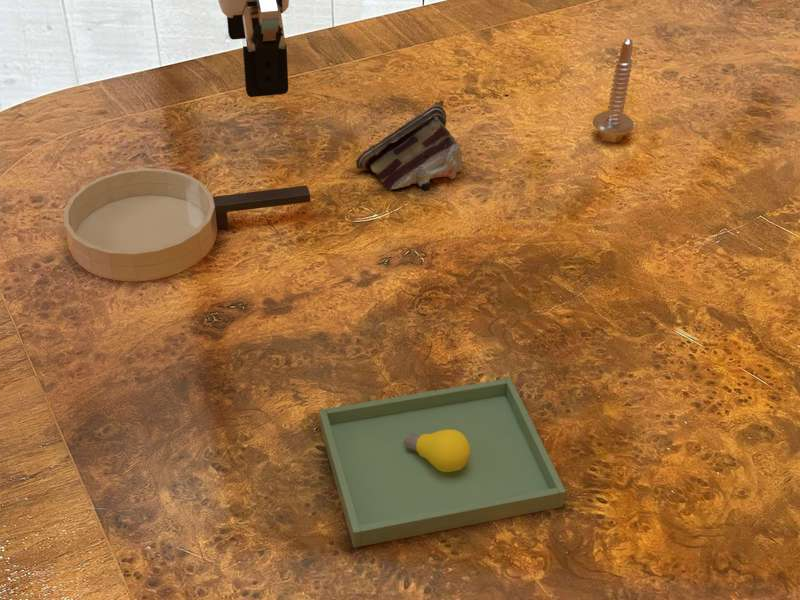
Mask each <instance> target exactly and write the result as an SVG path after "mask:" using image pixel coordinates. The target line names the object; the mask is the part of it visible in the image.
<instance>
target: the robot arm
mask: <svg viewBox="0 0 800 600" xmlns="http://www.w3.org/2000/svg"><path fill="white" fill-rule="evenodd" d="M217 1H218V4H219V7H220V9H221V13H223V14H224V15H225V16H226V21H227V33H228V37H229V39H231V40H233V41H234V40H235V41H236V40H244V39H245V44H246V45H244V46H243V45H242V55H243V68H244V69H243V70H244V82H245V83H244V84H245V85H244V86H245V92H246V95H247V96H248V97H249V98H257V97H268V96H277V95H285V94H287V93H288V92H289V69H288V68H289V67H288V45H287V43H286V37H285V30H284V24H283V17H282V14H284V13H285V12H286V11H287V9H288V8H289V5H290V0H217Z"/></svg>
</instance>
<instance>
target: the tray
mask: <svg viewBox="0 0 800 600" xmlns="http://www.w3.org/2000/svg"><path fill="white" fill-rule="evenodd" d="M318 426H319V429H320V434H321V436H322V440H323V444H324V447H325V451H326V455H327V458H328V461H329V465H330V468H331V469H330V470H331V473H332V476H333V480H334V483H335V487H336V490H337V494H338V497H339V501H340V504H341V508H342V512H343V516H344V520H345V522H346V526H347V531H348V534H349V537H350V540H351V544H352V547H353V548H354V549H356V548H361V547H366V546H370V545H376V544H380V543H385V542H391V541H396V540H401V539H406V538H412V537H417V536H421V535H425V534H433V533H438V532H442V531H446V530H447V531H448V530H451V529H457V528H462V527H468V526H472V525H477V524H483V523H486V522H492V521H497V520H503V519H508V518H512V517H518V516H523V515H528V514H529V515H530V514H533V513H539V512H543V511H548V510H554V509H559V508H563V507H564V505H565V498H566V493H567V491H566V488H565V487H564V484H563V482H562V480H561V478H560V476H559V474H558V471H557V470H556V467H555V466H554V464H553V461H552V460H551V457H550V456H549V453H548V451H547V449H546V448H545V446H544V443H543V441H542V439H541V437H540V435H539V433H538V431H537V429H536V426H535V424H534V423H533V421H532V418H531V416H530V414H529V412H528V410H527V408H526V406H525V404H524V402H523V400H522V398H521V396H520V394H519V391H518V389H517V388H516V385H515V384H514V381H513V379H512V378H511V377H508V378H507V377H505V378H502V379H495V380H489V381H483V382H478V383H471V384H464V385H460V386H459V385H458V386H452V387H448V388H441V389H434V390H429V391H424V392H417V393H412V394H405V395H399V396H393V397H386V398H380V399H377V400H376V399H374V400H369V401H363V402H357V403H350V404H345V405H339V406H332V407H328V408H320V409H318ZM441 430H457V431H459V432H461V433H462V434H463V435H464V436H465V438H466V439H467V441H468V443H469V445H470V456H469V460H468V462H467V463H466V465H465V466H464V467H463V468H462V469H460V470H457V471H453V472H442V471H440V470H437V469H436V468H435V467H434V466H433V465H432V464H431V463H430V462H429V461H428V460H427V459H426V458H424V457H422V456H420V455H419V453H418V452H415V451H412V450H411V451H410V450H407V448H406V446H405V444H404V439H405V438H406V437H407V436H408V435H409V434H415V435H419V436H420V435H423V434H432V433H435V432H438V431H441Z"/></svg>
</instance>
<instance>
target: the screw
mask: <svg viewBox="0 0 800 600" xmlns="http://www.w3.org/2000/svg"><path fill="white" fill-rule="evenodd" d="M633 46H634V45H633V40H632V39H631V38H629V37H628V38H625V40H624V41H623V43H622V45H621V47H620V51H619V55H618V56H617V59H618V60H616V62H615V63H616V65H615V66H614V67H615V69H614V71H613V72H614V74H613V79H612V82H613V83H612V84H611V86H612V88H611V89H610V91H611V92H610V95H609V96H610V97H609V102H608V104H609V105H608V106H607V109H608V110H605V111H602V112H599V113H597V114H596V115H594V116H593V119H592V125H593V127H594V128H595V129H596V130H597V131H598V132H599V133H598V134H599V137H600V139H601V140H602V141H603V142H605V143H606V142H607V143H610V144H611V143H612V144H616V143H618V142H620V141H622V140H623V138H624V135H627V134H630V133H631V132H632V131H633V130H634V128H635V127H634V126H635V123H634V121H633V119H632V118H630V116H628V114H625V113H624V109H625V105H626V99H627V94H628V92H627V91H628V89H629V88H628V87H629V86H630V85H629V82H630V77H631V72H632V67H633V64H632V63H633V60H632V54H633Z"/></svg>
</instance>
